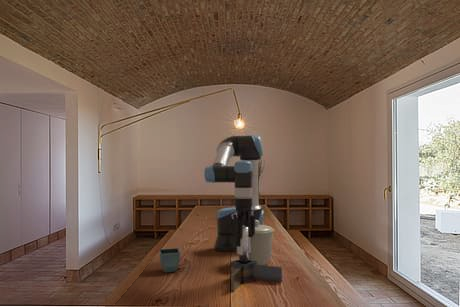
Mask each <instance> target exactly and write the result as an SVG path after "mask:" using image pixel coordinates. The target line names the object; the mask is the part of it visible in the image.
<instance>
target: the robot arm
mask: <svg viewBox="0 0 460 307" xmlns="http://www.w3.org/2000/svg"><path fill="white" fill-rule="evenodd" d="M262 142H263V141H262V138H261V136H259V135H252V134H251V135H232V136H229V137H226V138H224V139H223V140H221V141H220V142H219V143H218V145H217V147H216V155H215V157H214V160H213V162H212V165H208V166H205V168H204V172H203V174H204V181H205V182H206V183H212V184H213V183H217V184H219V183H234V197H235V198H234V206H233V207H226V208H224V207H223V208H221V209H219V210H218V211H217V215H216V216H217V217H216V223H217V224H216V226H217V227H216V229H217V231H216V234H217V235H216V239H215V243H214V245H213V246H214V248H213V249H214V250H215V251H217V252H223V253H224V252H225V253H227V252H228V253H230V252H236V254H237V255H239V254H240V255H243V239H241V235H242V228H243V226H244V225H245V226H247V227H248V235H249V253H251V237H253V235H254V234H255V220H258V221H259V225H264V212H265V210H263V209H262V206H261V205H260V203H259V199H260V198H259V163H260V161H261V160H262V159H261V157H263V156H264V151H263V143H262ZM233 157H239V161H235V162H234V165H230V160H231V158H233Z"/></svg>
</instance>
